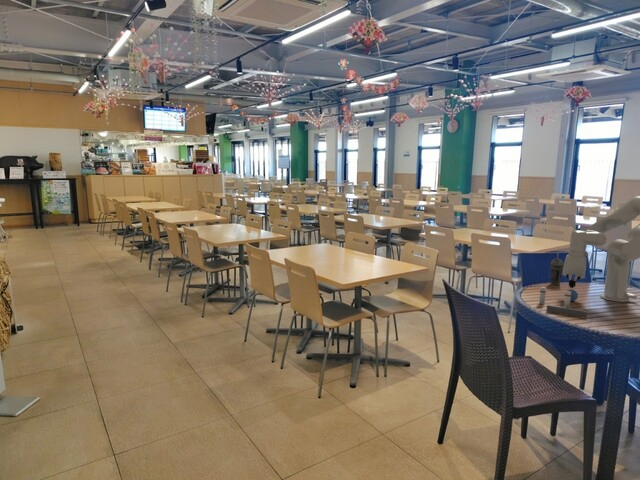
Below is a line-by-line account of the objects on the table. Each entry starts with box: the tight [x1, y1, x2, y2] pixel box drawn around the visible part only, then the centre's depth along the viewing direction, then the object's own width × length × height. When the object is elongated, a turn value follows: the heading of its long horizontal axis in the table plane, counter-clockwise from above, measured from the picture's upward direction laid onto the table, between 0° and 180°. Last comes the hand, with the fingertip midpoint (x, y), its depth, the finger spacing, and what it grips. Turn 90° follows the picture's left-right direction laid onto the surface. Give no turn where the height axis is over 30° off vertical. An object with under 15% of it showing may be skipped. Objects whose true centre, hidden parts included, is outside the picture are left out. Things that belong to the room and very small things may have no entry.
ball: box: [566, 289, 579, 302], centre depth 222 cm, size 6×6×6 cm
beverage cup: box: [549, 250, 565, 286], centre depth 255 cm, size 7×7×20 cm
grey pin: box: [538, 286, 547, 306], centre depth 216 cm, size 2×2×8 cm
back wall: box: [546, 304, 588, 319], centre depth 201 cm, size 16×2×3 cm, turn 53°
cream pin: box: [563, 290, 571, 308], centre depth 210 cm, size 2×2×8 cm
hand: (571, 287), depth 229 cm, fingers closed
